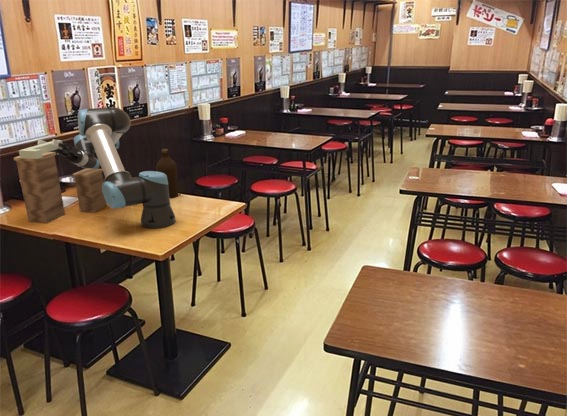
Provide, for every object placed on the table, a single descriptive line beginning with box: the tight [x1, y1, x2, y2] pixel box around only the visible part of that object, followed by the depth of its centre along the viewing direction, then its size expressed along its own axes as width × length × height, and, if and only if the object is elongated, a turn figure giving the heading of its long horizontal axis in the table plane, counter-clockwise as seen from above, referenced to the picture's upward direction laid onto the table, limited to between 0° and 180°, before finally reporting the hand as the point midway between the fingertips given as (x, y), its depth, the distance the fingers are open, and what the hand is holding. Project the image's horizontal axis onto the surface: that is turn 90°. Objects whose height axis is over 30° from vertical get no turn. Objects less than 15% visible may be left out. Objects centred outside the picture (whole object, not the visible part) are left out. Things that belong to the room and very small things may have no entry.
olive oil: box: [155, 148, 179, 199], centre depth 241 cm, size 11×11×25 cm
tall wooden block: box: [13, 152, 66, 224], centre depth 209 cm, size 11×13×30 cm
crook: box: [18, 139, 63, 159], centre depth 208 cm, size 24×8×3 cm, turn 168°
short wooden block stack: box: [72, 168, 108, 213], centre depth 223 cm, size 9×11×19 cm
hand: (45, 141), depth 211 cm, fingers open, 7 cm apart
